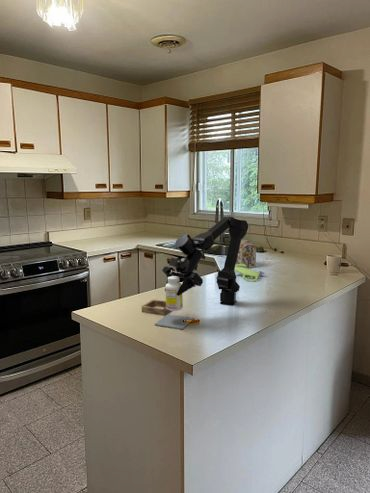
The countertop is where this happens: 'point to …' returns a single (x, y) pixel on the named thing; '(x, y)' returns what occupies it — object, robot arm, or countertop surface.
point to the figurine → (248, 272)
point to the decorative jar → (247, 254)
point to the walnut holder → (150, 309)
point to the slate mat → (173, 322)
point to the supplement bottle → (173, 294)
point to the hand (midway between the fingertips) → (171, 293)
